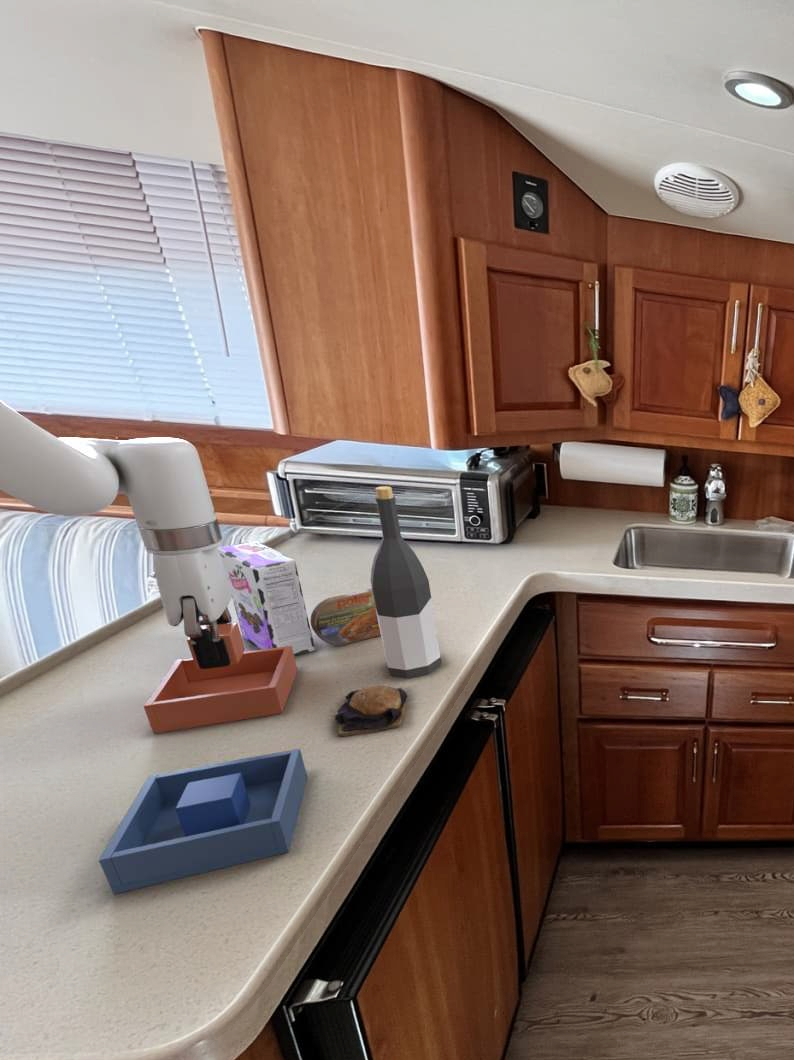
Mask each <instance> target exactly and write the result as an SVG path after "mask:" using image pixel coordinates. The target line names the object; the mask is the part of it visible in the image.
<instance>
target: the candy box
mask: <svg viewBox="0 0 794 1060" xmlns="http://www.w3.org/2000/svg"><path fill="white" fill-rule="evenodd" d="M217 548H218V550H219V553H220V556H221V558H222V561H223V564H224V567H225V570H226V573H227V577H228V580H229V584H230V588H231V594H232V597H231V600H232V603H233V606H234V610H235V614H236V617H237V620H238V625H239V627H240V628H239V629H240V632H241V636H242V637H243V638H244V639H245V640H247V641H249V642H250V643H251V644H252V645H254V646H255V647H257V648H258V649H259V650H262V649H270V648H279V647H286V646H292V649H293V653H294V657H296V656H299V655H304V654H308V653H311V652H314V651H315V650H316V647H315V642H314V638H313V634H312V628H311V624H310V620H309V616H308V612H307V607H306V603H305V598H304V594H303V590H302V585H301V581H300V575H299V571H298V567H297V563H296V560H295V559H294V558H292V557H288V556H287V555H285V554H283V553H281V552H279V551H278V550H276V549H274V548H272V547H271V546H269V545H266V544H264V543H262V542H261V541H259V540H253V541H247V542H241V543H237V544H231V545H230V544H229V545H225V546H218V547H217Z"/></svg>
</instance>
